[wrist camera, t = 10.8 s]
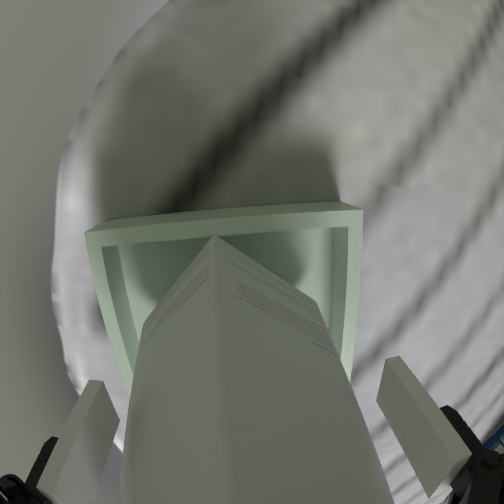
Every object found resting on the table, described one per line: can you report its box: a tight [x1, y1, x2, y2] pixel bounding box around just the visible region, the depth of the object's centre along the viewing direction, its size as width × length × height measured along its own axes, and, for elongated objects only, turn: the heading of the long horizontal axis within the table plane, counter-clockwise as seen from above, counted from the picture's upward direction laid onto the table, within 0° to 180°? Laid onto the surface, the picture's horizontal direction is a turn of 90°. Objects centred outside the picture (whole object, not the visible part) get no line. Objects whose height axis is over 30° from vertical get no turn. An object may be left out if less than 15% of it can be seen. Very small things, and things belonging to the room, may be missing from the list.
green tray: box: [84, 201, 363, 399], centre depth 22 cm, size 17×22×4 cm
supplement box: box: [119, 236, 394, 504], centre depth 14 cm, size 9×9×15 cm
